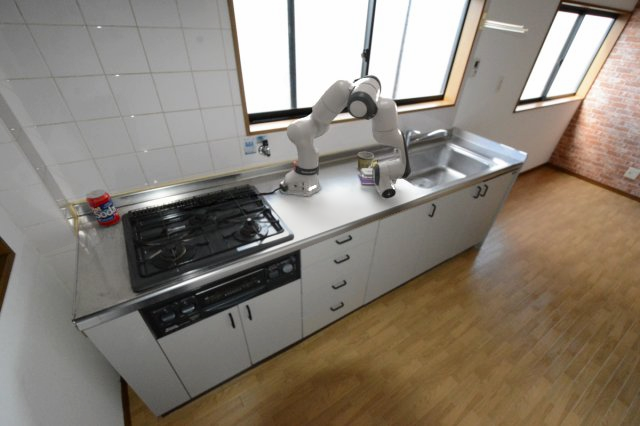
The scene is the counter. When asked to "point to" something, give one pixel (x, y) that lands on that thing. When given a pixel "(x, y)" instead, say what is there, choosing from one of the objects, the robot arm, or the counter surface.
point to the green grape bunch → (375, 163)
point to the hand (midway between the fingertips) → (375, 167)
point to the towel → (366, 181)
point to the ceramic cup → (364, 159)
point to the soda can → (102, 207)
